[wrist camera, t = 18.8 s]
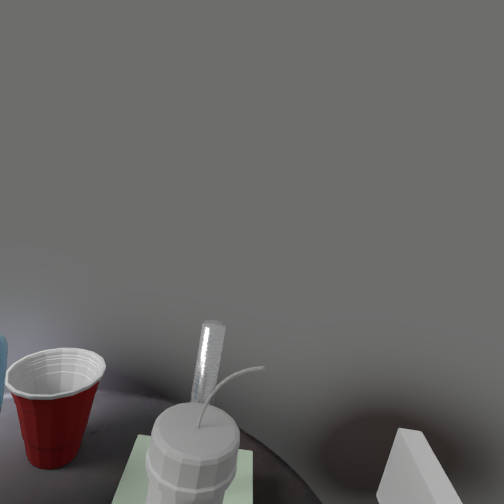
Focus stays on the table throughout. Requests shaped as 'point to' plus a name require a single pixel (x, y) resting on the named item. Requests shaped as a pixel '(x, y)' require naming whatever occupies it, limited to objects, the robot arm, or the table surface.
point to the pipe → (193, 453)
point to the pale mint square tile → (136, 480)
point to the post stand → (208, 360)
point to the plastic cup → (54, 401)
